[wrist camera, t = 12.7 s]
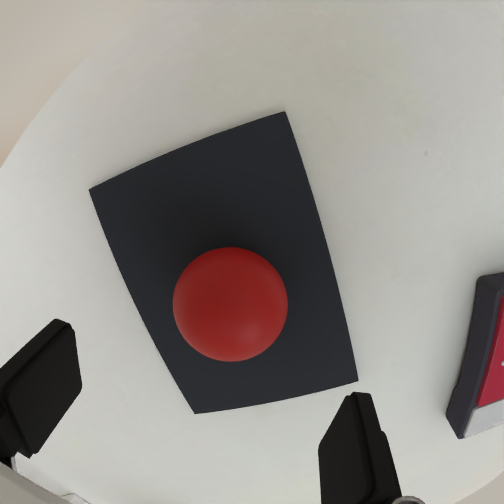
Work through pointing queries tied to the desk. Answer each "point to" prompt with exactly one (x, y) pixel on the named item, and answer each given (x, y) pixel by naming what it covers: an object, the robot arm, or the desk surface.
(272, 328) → the red ball
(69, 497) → the tissue box
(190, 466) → the desk surface
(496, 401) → the calculator
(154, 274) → the side mat
